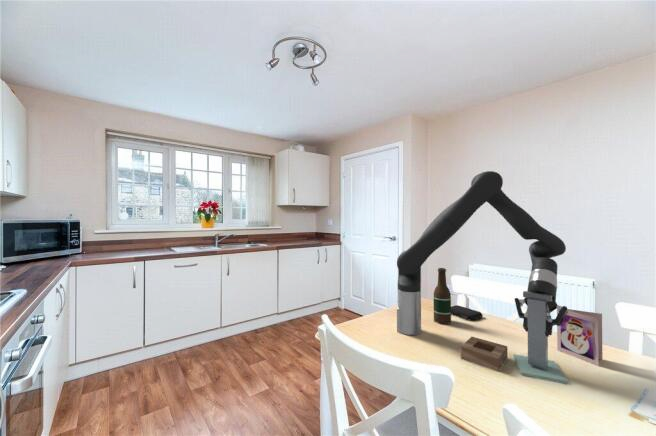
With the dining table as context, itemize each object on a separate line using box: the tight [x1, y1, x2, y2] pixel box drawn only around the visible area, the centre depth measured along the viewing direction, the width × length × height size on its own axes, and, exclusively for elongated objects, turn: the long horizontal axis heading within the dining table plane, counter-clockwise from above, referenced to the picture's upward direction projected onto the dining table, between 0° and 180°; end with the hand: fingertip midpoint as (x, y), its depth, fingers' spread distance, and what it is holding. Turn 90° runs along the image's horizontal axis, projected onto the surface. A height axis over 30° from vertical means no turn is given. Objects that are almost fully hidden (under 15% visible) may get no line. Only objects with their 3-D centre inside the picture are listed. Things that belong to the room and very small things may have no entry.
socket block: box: [460, 336, 509, 372], centre depth 91 cm, size 11×11×4 cm
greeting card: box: [556, 308, 603, 367], centre depth 92 cm, size 11×7×15 cm, turn 20°
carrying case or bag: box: [451, 304, 484, 322], centre depth 132 cm, size 11×3×15 cm
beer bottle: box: [433, 267, 452, 325], centre depth 124 cm, size 8×8×24 cm
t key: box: [522, 290, 552, 369], centre depth 85 cm, size 4×7×22 cm, turn 45°
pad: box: [512, 353, 569, 385], centre depth 85 cm, size 11×12×1 cm
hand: (536, 332), depth 83 cm, fingers closed on t key, 4 cm apart
